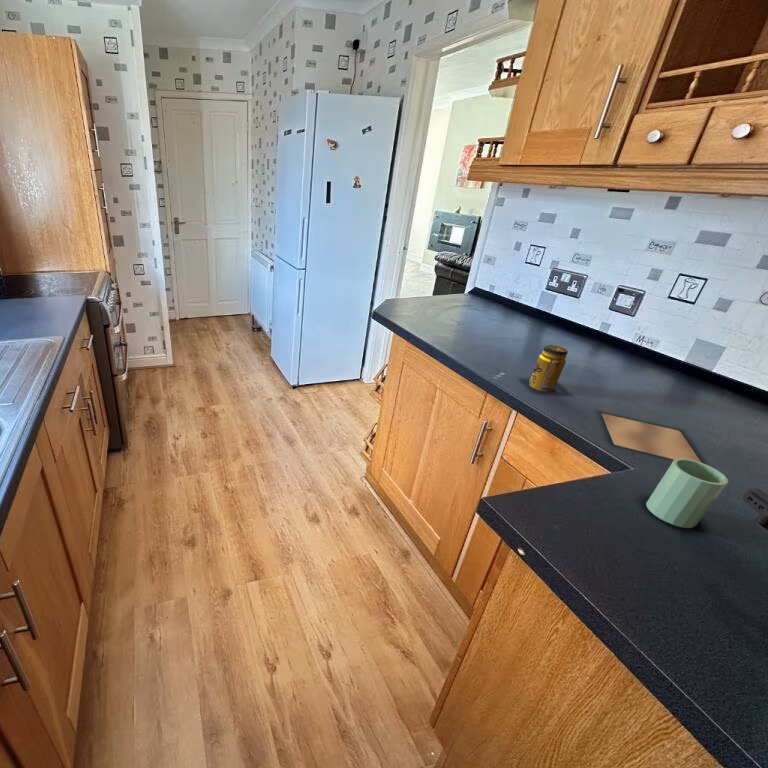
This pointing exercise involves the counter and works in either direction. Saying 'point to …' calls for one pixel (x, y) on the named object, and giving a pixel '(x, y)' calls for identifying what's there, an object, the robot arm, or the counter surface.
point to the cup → (686, 492)
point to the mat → (649, 438)
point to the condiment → (548, 368)
